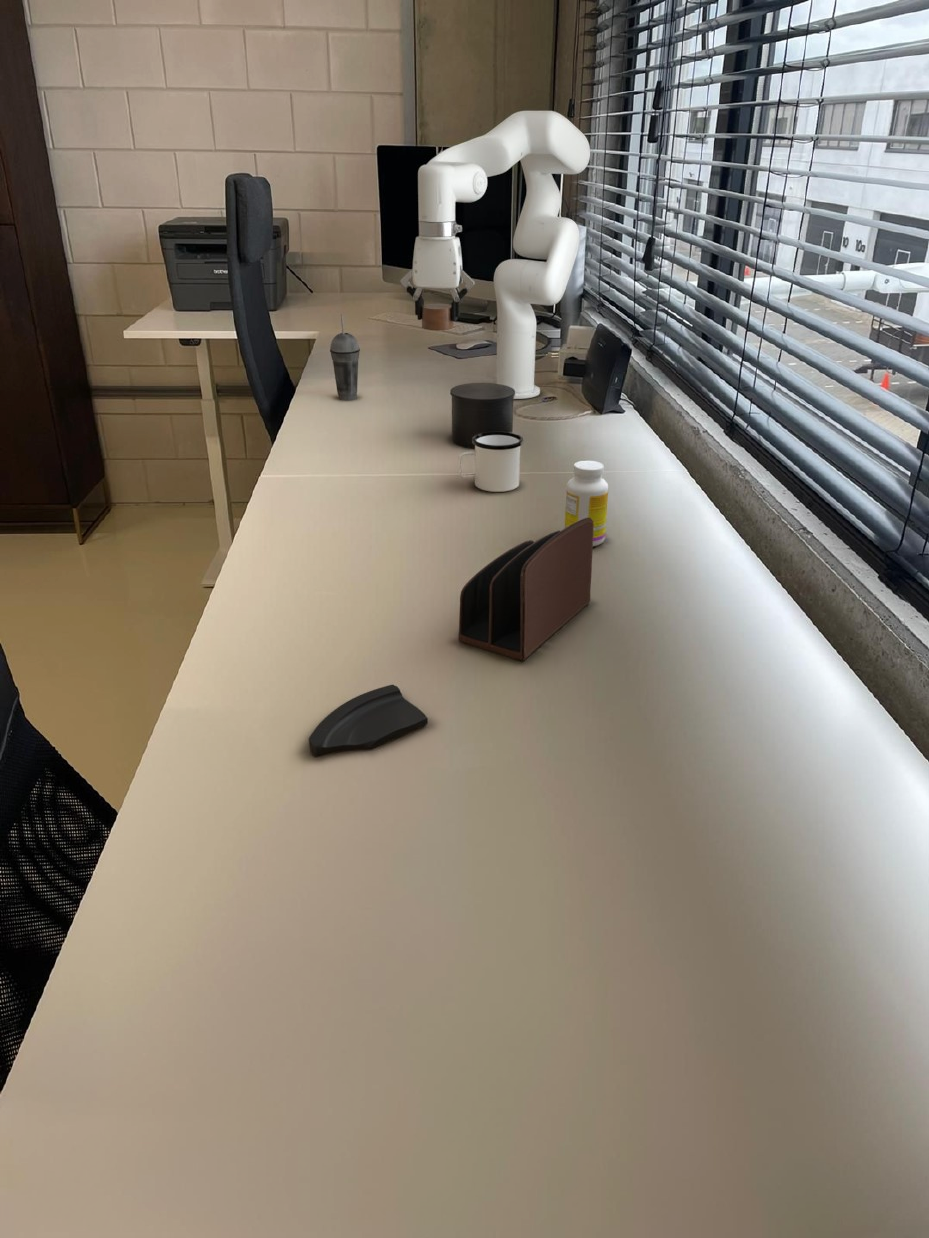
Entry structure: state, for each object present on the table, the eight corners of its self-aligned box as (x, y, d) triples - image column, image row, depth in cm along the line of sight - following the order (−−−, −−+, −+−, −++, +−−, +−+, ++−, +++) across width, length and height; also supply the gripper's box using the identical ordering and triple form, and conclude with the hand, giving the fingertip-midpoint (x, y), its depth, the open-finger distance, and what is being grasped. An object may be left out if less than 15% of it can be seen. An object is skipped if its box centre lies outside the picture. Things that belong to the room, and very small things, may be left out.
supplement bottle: (608, 535, 157) (614, 460, 151) (600, 550, 151) (606, 473, 145) (568, 530, 158) (573, 456, 152) (559, 545, 153) (563, 469, 147)
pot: (456, 429, 210) (456, 381, 205) (517, 432, 208) (518, 384, 203) (444, 447, 198) (444, 397, 193) (509, 451, 196) (510, 400, 191)
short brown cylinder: (425, 323, 208) (425, 303, 206) (456, 325, 207) (456, 304, 205) (418, 329, 202) (418, 308, 200) (449, 331, 201) (449, 309, 199)
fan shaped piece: (289, 731, 106) (288, 719, 106) (392, 694, 113) (392, 682, 112) (324, 768, 100) (323, 755, 100) (431, 726, 107) (431, 714, 106)
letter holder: (590, 603, 135) (597, 510, 128) (523, 663, 120) (527, 561, 113) (529, 586, 139) (532, 496, 133) (457, 642, 124) (457, 544, 118)
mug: (515, 475, 183) (516, 429, 179) (527, 492, 175) (529, 444, 170) (454, 479, 181) (454, 433, 176) (464, 496, 172) (464, 448, 168)
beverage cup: (365, 394, 236) (361, 311, 227) (359, 402, 230) (355, 317, 220) (336, 393, 237) (331, 311, 227) (329, 401, 230) (324, 316, 221)
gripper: (481, 230, 197) (480, 318, 205) (400, 227, 200) (403, 315, 208) (474, 233, 191) (473, 324, 199) (391, 231, 194) (394, 321, 202)
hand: (437, 319), depth 204 cm, fingers closed on short brown cylinder, 6 cm apart
